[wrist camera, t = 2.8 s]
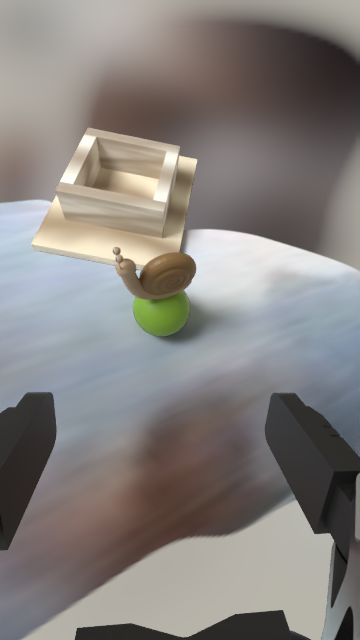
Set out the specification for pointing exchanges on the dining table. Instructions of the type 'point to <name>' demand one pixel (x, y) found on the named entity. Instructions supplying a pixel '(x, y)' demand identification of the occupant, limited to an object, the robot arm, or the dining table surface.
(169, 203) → the wooden box tray
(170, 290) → the snail figurine
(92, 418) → the dining table surface
